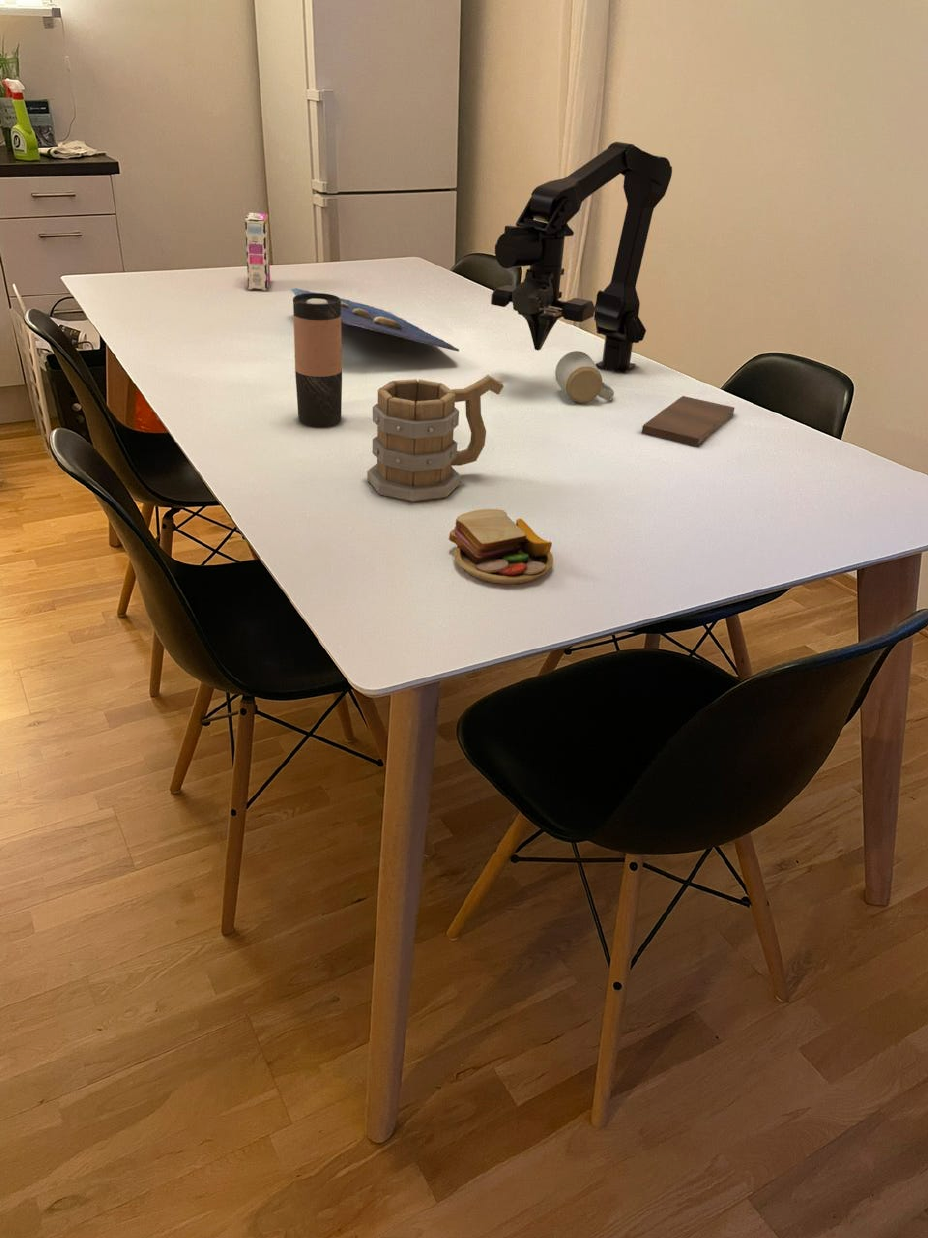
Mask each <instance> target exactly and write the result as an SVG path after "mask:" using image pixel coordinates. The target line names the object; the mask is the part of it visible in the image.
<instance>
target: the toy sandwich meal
mask: <svg viewBox="0 0 928 1238" xmlns="http://www.w3.org/2000/svg"><path fill="white" fill-rule="evenodd" d="M448 535H449V536H448V540H449V541H450V542H451V543H453V544H455V545H456V546H455V548H454V551H453V554H454V559H455V561H456V562H457V564H458V565H459V566H460V567H461V568H462V569H463V570H464V571H465V572H466V573H468V574H469V575H471V576H473V577H475V578H476V579H478V580H480V581H484V582H488V583H493V584H500V585H518V584H519V585H520V584H524V583H529V582H531V581H535V580H536V579H538V578H540V577H541V576H543V575H544V574H545V573H547V572H548V571H549V570H550V569H551V568H552V566H553V564H554V556H553V553H552V552H551V549H552V546H553V543H552V542H551V541H548V540H545V539H544V538H541V537H540V536H539V535H538V534H536V532H535V531H534V530H533V529H532V528H531V527H530V526H529V524H527V522H525V521H524V520H523V519H522V518H517V519H516V521H515V522H514V521H513V520H512V519H511V518H510V517H509V516H508V515H507V512H506V511H505V510H503V509H498V508H484V509H482V508H481V509H476V510H471V511H467V512H465V513H462V514H459V516H457V517H456V520H455V525H454V528H453V529H451V531H450V532H449V534H448Z"/></svg>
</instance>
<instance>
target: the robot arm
mask: <svg viewBox="0 0 928 1238" xmlns="http://www.w3.org/2000/svg"><path fill="white" fill-rule="evenodd" d="M619 175H622V176H623V177H624V178H623V187H622V188H623V192H624V195H625V200H626V203H627V205H626V211H625V215H624V219H623V224H622V229H621V232H620V233H621V234H620V238H619V243H618V247H617V252H616V256H615V260H614V266H613V270H612V274H611V279H610V282H609V284H608V285H607V286H606V288H605V289H604V290H598V291H597V293H596V297H595V298H596V300H595V304H594V302H593V301H592V300H589V299H585V298H584V299H583V298H579V297H573V298H571V299H568V300H566V301H564V300H559V299H561V298H562V295H563V291H560V287H561V278H562V276H563V275H565V268H563V259H564V249H565V239H566V237H573V236H574V235H575V231H573V229H572V228H571V227H570V226H569V224H568V223H569V222H570V221H571V220H572V219H573V218H574V217H575V216H576V215H577V214H578V213H579V212H580V210H581V206H582V203H583V202H584V201H585V200H586V199H587V198H588V197H590V196H592V195H593V194H594V193H596V192H597V191H598V190H600V189H601V188H602V187H604V186H605V185H607V184H608V183H609V182H611V181H612V180H614V179H615V178H616V177H617V176H619ZM672 175H673V166H672V165H671V163H670V161H669V159H668V158H667V157H665V156H661V155H660V156H659V155H654V154H652V153H649V152H647V151H645V150H643V149H641V148H640V147H638V146H636V145H635V144H633V143H627V142H621V141H615V142H614V141H613V142H611V143H610V144H609V145H608V146H607V148H606V149H605V150H603V151H601V152H600V153H599V154H598V155H596V156H594V157H593V158H592V159H591V160H589V161H588V162H586V163H585V164H583V165H582V166H581V167H579V168H578V169H576V170H575V171H573V172H572V173H571V174H569V175H568V176H565V177H563V178H557V179H553V180H549V181H547V182H544V183H542V184H540V185H538V186H536V187H535V188H534V189H533V190H532V192H531V194H530V195H531V196H530V198H529V199H528V201H527V202H526V205H525V207H524V209H523V210H522V212H521V214H520V215H519V217H518V219H517V221H516V222H515V225H511V224H509V225H505V226H504V233H502V234H500V235H499V237H498V238H497V240H496V244H494V256H495V259H496V261H497V263H498V265H499V266H500V267H501V268H503V269H515V268H521V267H529V268H527V269H526V271H525V273H524V274H525V275H524V279H523V281H522V282H520V283H519V284H518V285H517V286H514V285H509V284H505V285H502V286H500V287H497V288H495V289H494V290H493V291H492V292H491V298H490V299H491V300H490V304H491V306H496V307H501V308H506V307H507V306H509V304H511V303H512V308H513V311H516V312H517V314H518V315H520V316H522V317H523V318H524V320H525V321H526V323H527V325H528V328H529V332H530V334H531V335H530V336H531V340H532V344H533V348H534V350H535V351H542V348H543V347H544V345H545V342H546V340H547V339H548V336H549V334H550V333H551V331H552V329H553V328H554V326H555V324H556V323H557V321H558V320H559V319H560V318H563V319H564V320H566V321H571V322H577V323H583V322H584V321H587V320H589V319H592V318H593V320H594V321H595V328H596V333H597V334H598V335H602V336H605V337H604V343H603V344H604V345H603V351H602V352H603V353H602V358H601V359H602V360H601V361H599V362H597V363H596V364H595V365H596V367H597V368H598V369H603V370H607V371H612V372H617V373H621V374H625V373H627V372H629V371H630V370H632V369H634V368H635V367H636V365H637V364H636V363H634V362H631V359H632V354H633V346H634V344H639V342H642V341H644V338H645V335H646V332H647V328H646V327H645V326H644V323H642V320H641V318H640V316H639V314H640V304H641V303H640V299H639V296H638V295H639V294H638V291H637V288H636V287H637V282H638V278H639V275H640V271H641V265H642V260H643V257H644V252H645V248H646V243H647V239H648V235H649V231H650V226H651V221H652V217H653V213H654V210H655V208H656V207H657V206H658V204H659V203H660V202H661V201H662V199H663V198H664V197H665V196H666V194H667V190H668V188H669V185H670V181H671V179H672Z"/></svg>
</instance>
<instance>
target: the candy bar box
mask: <svg viewBox="0 0 928 1238" xmlns="http://www.w3.org/2000/svg"><path fill="white" fill-rule="evenodd" d="M244 227H245V228H244V229H245V243H246V244H245V247H246V248H245V249H246V266H247V267H246V268H247V269H246V271H247V290H248V291H257V292H259V291H262V292H267V291H268V289H269V286H270V282H271V269H270V268H271V265H270V242H269V241H270V239H269V214H268V213H263V212H248V214H247V215H246V216H245V219H244Z"/></svg>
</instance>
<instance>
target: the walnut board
mask: <svg viewBox="0 0 928 1238" xmlns="http://www.w3.org/2000/svg"><path fill="white" fill-rule="evenodd" d="M734 413H735V407H734V406H730V405H726V404H720V403H716V402H712V401H707V400H702V399H698V398H694V397H689V396H685V395H682V396H681V397H679V398H678V399H677V400H675V401H674V402H672V403H671V404H669V405H667V407H666V408H664V409H663V410H662V411H660V412H659V413H657V414H656V415H655V416H653V417H651V419H649V420H648V421H647V422H645V423H643V425H642V426H641V427H642V428H641V434H643V435H646V436H651V437H655V438H660V439H663V440H668V441H671V442H676V443H679V444H684V445H688V446H692V447H696V448H698V447H699V446H700V445H701V444H702V443H703V442H704V441H706V440H707V439H708V438H709V437H710V436H711V435H712V434H713V433H715V432H716V431H717V430H718V429H719V428H721V427H722V426H723V425H724V424H725V423H726V422H727V421H728V420H730V419H731V418H732V417H733V416H734Z"/></svg>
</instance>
